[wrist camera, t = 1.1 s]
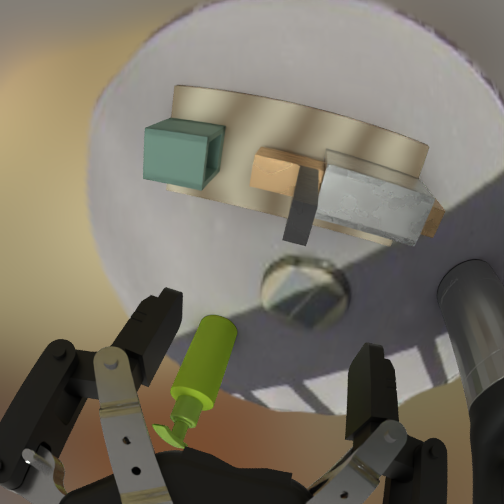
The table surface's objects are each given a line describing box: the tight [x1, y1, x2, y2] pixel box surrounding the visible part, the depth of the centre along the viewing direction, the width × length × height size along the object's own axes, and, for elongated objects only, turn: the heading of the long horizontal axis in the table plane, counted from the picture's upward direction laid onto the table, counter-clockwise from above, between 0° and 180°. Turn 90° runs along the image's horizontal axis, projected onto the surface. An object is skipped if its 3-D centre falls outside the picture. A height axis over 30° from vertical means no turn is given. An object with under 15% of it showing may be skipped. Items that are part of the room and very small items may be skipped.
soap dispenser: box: [152, 315, 237, 448], centre depth 38 cm, size 6×7×20 cm
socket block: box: [143, 118, 226, 191], centre depth 28 cm, size 6×5×6 cm
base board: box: [166, 85, 429, 246], centre depth 30 cm, size 26×12×1 cm, turn 80°
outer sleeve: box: [315, 148, 435, 247], centre depth 27 cm, size 10×5×6 cm, turn 80°
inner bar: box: [249, 147, 445, 246], centre depth 24 cm, size 18×3×10 cm, turn 80°
